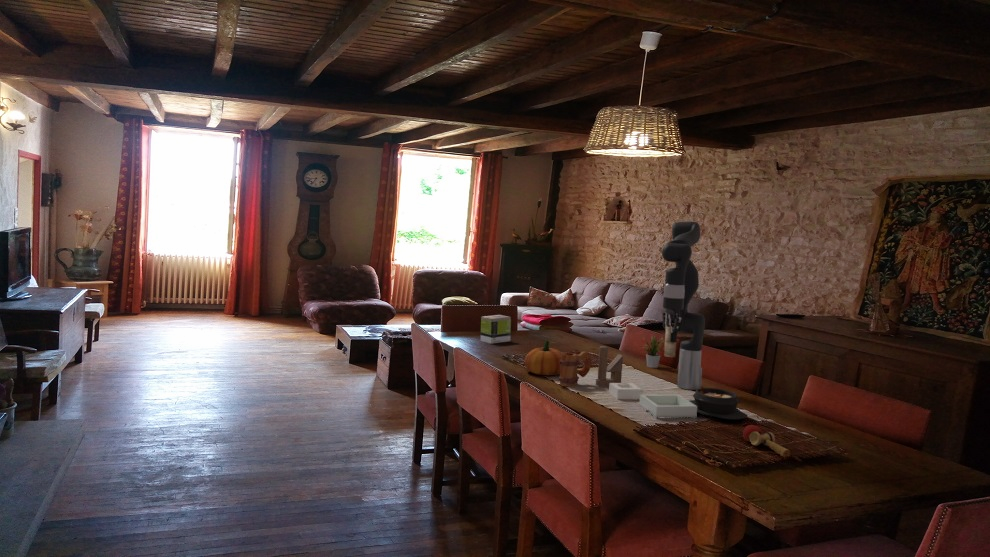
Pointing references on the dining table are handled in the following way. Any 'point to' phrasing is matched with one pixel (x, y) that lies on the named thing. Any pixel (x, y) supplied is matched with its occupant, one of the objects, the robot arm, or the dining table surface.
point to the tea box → (495, 329)
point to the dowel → (669, 344)
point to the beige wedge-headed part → (608, 368)
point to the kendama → (763, 439)
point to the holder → (624, 390)
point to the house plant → (653, 353)
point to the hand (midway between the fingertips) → (670, 341)
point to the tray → (668, 406)
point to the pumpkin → (544, 361)
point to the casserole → (717, 403)
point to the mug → (573, 368)
